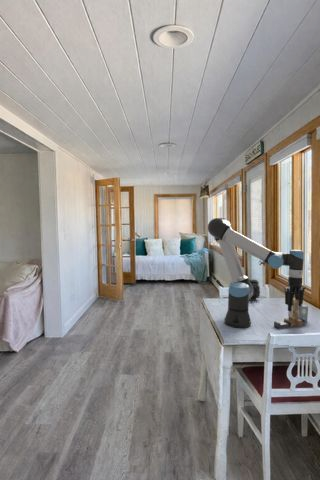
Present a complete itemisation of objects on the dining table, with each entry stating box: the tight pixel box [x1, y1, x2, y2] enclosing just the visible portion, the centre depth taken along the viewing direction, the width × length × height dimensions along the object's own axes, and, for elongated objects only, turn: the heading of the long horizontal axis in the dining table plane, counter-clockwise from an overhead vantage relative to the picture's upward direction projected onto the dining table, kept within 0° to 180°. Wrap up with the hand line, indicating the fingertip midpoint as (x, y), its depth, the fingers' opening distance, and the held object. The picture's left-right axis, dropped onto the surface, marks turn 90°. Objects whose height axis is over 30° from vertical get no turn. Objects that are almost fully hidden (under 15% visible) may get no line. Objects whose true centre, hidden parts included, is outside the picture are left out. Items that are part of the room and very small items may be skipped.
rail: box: [273, 318, 307, 330], centre depth 182 cm, size 20×4×3 cm, turn 111°
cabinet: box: [298, 304, 309, 322], centre depth 194 cm, size 8×8×9 cm
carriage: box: [283, 298, 303, 328], centre depth 182 cm, size 8×6×15 cm
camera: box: [249, 279, 261, 301], centre depth 241 cm, size 10×10×15 cm
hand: (293, 316), depth 183 cm, fingers closed on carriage, 3 cm apart
